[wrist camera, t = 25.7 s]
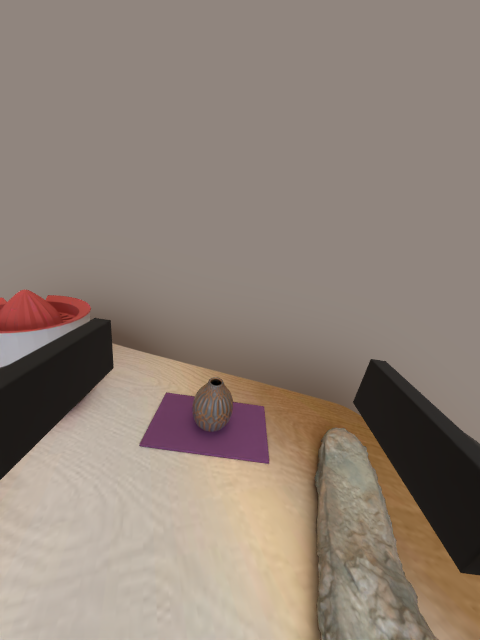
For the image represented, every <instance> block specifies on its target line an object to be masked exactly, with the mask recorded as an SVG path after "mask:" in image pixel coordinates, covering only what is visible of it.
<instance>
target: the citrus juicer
mask: <svg viewBox="0 0 480 640" xmlns="http://www.w3.org/2000/svg"><path fill="white" fill-rule="evenodd" d="M90 310H91V308H90V305H89V304H88V303H86V302H84V301H82V300H79V299H76V298H72V297H65V296H54V295H53V296H52V295H48V296H47V298H46V300H44V299H43V298H41V297H39V296H38V295H36V294H35V293H33V292H31V291H29V290H21V291H20V292H18V293H17V294H15V295H14V296H13V297H12V298H11V299H10V300H9V301H8V302H6V301H5V300H4V298H0V367H3V366H6V365H9V364H11V363H13V362H15V361H17V360H18V359H20V358H22V357H24V356H26V355H28V354H29V353H31V352H33V351H35V350H37V349H39V348H41V347H42V346H44V345H46V344H48V343H50V342H52V341H53V340H55V339H57V338H59V337H61V336H63V335H65V334H66V333H68V332H70V331H72V330H74V329H76V328H77V327H79V326H81V325H83V324H85V323H87V322H89V321H90V316H89V312H90Z"/></svg>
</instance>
